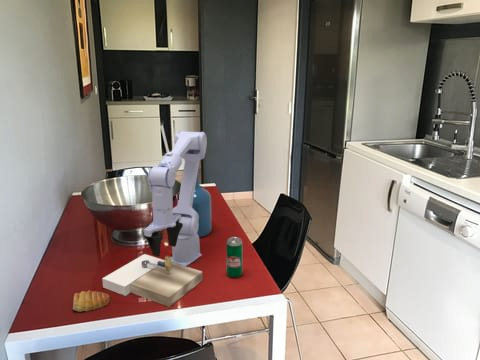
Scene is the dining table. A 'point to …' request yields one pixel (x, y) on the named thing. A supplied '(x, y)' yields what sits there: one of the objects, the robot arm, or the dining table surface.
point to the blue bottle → (202, 208)
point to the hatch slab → (167, 284)
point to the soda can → (234, 257)
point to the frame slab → (128, 275)
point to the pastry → (89, 300)
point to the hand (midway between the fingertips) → (164, 250)
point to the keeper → (161, 263)
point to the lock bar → (165, 269)
